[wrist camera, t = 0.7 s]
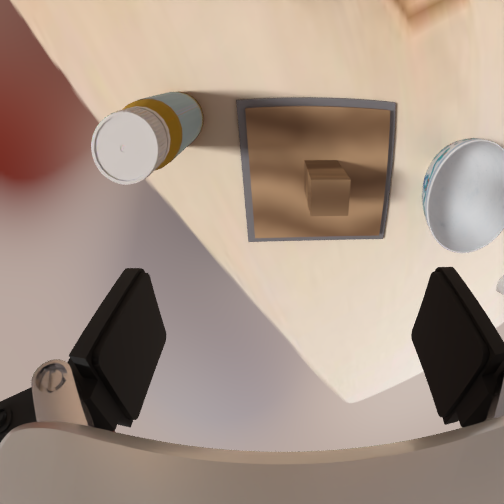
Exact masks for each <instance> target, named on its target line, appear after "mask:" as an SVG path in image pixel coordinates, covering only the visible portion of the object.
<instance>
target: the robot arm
mask: <svg viewBox="0 0 504 504" xmlns="http://www.w3.org/2000/svg"><path fill="white" fill-rule="evenodd" d="M165 341H166V331H165V328H164V324H163V321H162V318H161V315H160V311H159V308H158V304H157V301H156V297H155V294H154V290H153V286H152V283H151V279H150V276H149V274H148V273H145V271H144V270H143V269H140V268H127V269H125V270H124V271H123V273H122V274H121V276H120V277H119V279H118V280H117V281H116V283H115V284H114V286H113V287H112V289H111V290H110V292H109V293H108V295H107V296H106V298H105V299H104V300H103V302H102V303H101V305H100V306H99V308H98V310H97V311H96V313H95V314H94V316H93V317H92V319H91V321H90V322H89V324H88V325H87V327H86V328H85V330H84V331H83V333H82V335H81V336H80V338H79V340H78V341H77V343H76V344H75V346H74V348H73V349H72V351H71V353H70V354H69V356H70V359H69V361H68V363H67V362H65V361H63V360H60V359H54V360H50V361H48V362H45V363H43V364H42V365H41V366H40V367H38V368H37V370H36V371H35V373H34V374H33V377H32V382H31V386H32V387H31V388H29V389H27V390H25V391H22V392H20V393H18V394H16V395H14V396H12V397H9V398H7V399H5V400H3V401H1V402H0V504H504V342H503V340H502V339H501V337H500V335H499V334H498V332H497V330H496V329H495V327H494V325H493V324H492V322H491V321H490V319H489V318H488V316H487V314H486V313H485V311H484V310H483V308H482V307H481V305H480V304H479V302H478V301H477V299H476V298H475V297H474V295H473V294H472V292H471V291H470V289H469V288H468V287H467V285H466V284H465V282H464V281H463V280H462V278H461V277H460V276H459V274H458V273H457V272H456V270H455V269H454V268H453V267H438V268H437V269H436V270H435V272H432V274H431V276H430V279H429V282H428V286H427V289H426V292H425V295H424V298H423V301H422V304H421V307H420V310H419V313H418V316H417V318H416V321H415V324H414V327H413V329H412V341H413V344H414V346H415V349H416V352H417V354H418V357H419V360H420V362H421V365H422V368H423V370H424V373H425V376H426V379H427V382H428V385H429V387H430V391H431V393H432V396H433V400H434V402H435V406H436V409H437V412H438V414H439V416H440V417H443V421H444V424H449V423H453V422H457V421H458V420H459V421H460V425H461V426H460V428H459V429H456V430H452V431H448V432H444V433H440V434H436V435H432V436H427V437H422V438H418V439H413V440H408V441H402V442H396V443H390V444H384V445H377V446H369V447H360V448H351V449H341V450H327V451H307V452H260V451H259V452H258V451H239V450H224V449H213V448H204V447H195V446H187V445H181V444H173V443H167V442H162V441H156V440H151V439H145V438H140V437H135V436H130V435H125V434H121V433H116V432H115V429H116V426H117V424H118V425H122V426H127V427H131V425H132V422H133V420H136V419H137V418H138V416H139V414H140V410H141V408H142V405H143V402H144V399H145V396H146V394H147V391H148V388H149V385H150V382H151V380H152V377H153V374H154V371H155V369H156V366H157V363H158V360H159V358H160V355H161V352H162V350H163V347H164V344H165Z"/></svg>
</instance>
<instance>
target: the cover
mask: <svg viewBox="0 0 504 504" xmlns="http://www.w3.org/2000/svg"><path fill="white" fill-rule="evenodd" d="M245 113H246V126H247V139H248V152H249V165H250V178H251V191H252V204H253V217H254V230H255V238H285V237H328V236H379V232H380V225H381V218H382V210H383V202H384V194H385V184H386V174H387V162H388V149H389V131H390V110H386V109H374V108H360V107H339V106H274V107H253V108H245Z"/></svg>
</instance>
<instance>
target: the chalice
mask: <svg viewBox="0 0 504 504" xmlns="http://www.w3.org/2000/svg"><path fill="white" fill-rule="evenodd" d="M497 291H498V292H499V293H501V294H504V275H503V276H502V277H501V279H500V280H499V282H498V284H497Z"/></svg>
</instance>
